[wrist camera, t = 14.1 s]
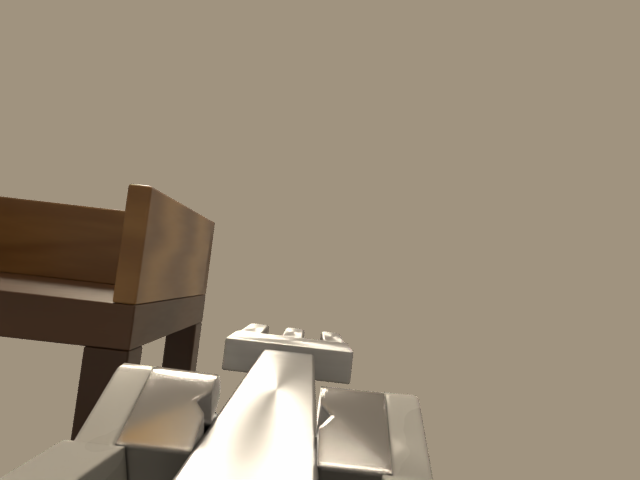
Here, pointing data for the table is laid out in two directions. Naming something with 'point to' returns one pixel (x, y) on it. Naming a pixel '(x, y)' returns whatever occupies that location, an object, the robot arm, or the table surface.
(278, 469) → the fork
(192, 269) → the stand
